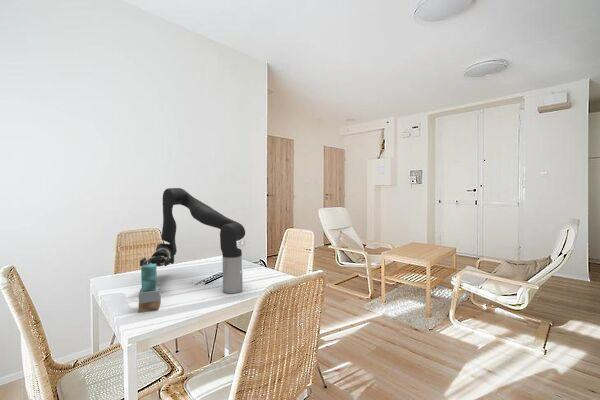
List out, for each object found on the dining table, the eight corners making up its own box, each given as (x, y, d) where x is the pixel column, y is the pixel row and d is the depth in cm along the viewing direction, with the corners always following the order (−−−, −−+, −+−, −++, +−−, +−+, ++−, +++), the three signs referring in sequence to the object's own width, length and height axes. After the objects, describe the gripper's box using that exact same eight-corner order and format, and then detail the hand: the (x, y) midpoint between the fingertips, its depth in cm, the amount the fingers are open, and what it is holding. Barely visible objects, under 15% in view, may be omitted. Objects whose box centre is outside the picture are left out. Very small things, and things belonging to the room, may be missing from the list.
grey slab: (159, 294, 120) (159, 285, 120) (158, 300, 113) (158, 291, 113) (141, 297, 117) (141, 288, 117) (138, 303, 111) (138, 293, 111)
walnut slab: (160, 304, 120) (160, 294, 120) (158, 310, 113) (157, 301, 113) (142, 306, 118) (142, 296, 118) (138, 313, 111) (138, 303, 111)
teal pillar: (156, 286, 119) (156, 263, 118) (155, 290, 114) (155, 266, 114) (143, 288, 117) (143, 264, 116) (141, 292, 112) (141, 267, 112)
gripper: (145, 250, 138) (136, 257, 122) (176, 248, 142) (172, 255, 127) (145, 265, 138) (137, 274, 123) (176, 262, 142) (172, 271, 127)
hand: (154, 264), depth 125 cm, fingers open, 8 cm apart
